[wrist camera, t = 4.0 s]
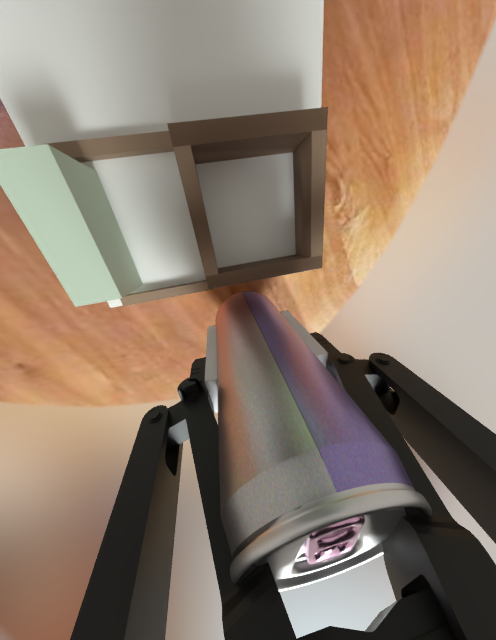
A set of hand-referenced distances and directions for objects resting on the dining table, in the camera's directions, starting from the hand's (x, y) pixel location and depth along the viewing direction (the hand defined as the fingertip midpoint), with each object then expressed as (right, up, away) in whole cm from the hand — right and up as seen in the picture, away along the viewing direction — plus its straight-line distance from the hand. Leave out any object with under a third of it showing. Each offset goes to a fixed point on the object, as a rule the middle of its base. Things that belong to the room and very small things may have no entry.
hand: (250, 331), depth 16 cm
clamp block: (-12, +7, -3) cm, 14 cm away
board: (-5, +12, -2) cm, 13 cm away
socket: (0, +10, -1) cm, 10 cm away
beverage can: (-1, +1, +2) cm, 2 cm away
